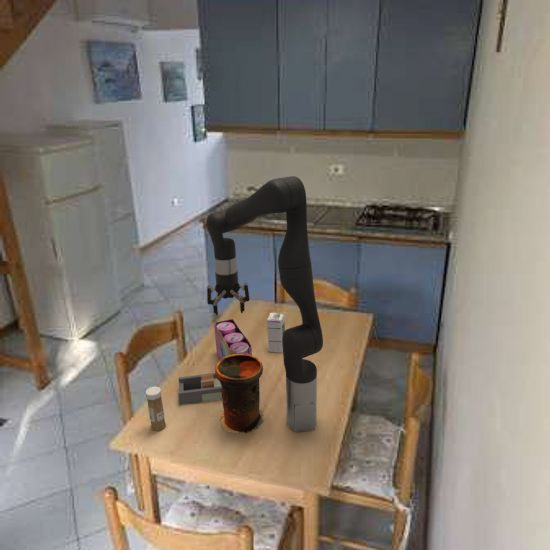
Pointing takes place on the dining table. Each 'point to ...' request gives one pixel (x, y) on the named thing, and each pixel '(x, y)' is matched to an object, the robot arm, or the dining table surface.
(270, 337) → the syrup box
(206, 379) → the block
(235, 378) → the vessel
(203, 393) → the channel
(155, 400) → the sprinkles bottle
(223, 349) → the gum box
